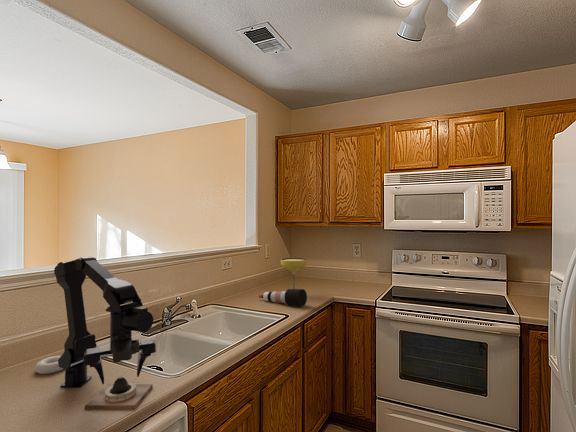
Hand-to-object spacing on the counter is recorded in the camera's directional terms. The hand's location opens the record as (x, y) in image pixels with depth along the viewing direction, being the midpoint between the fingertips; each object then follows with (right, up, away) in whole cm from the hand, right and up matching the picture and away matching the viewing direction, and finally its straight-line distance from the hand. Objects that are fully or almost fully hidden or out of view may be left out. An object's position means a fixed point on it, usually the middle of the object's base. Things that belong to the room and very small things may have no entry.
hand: (120, 380), depth 99 cm
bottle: (+45, -7, +111) cm, 120 cm away
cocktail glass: (+54, -7, +133) cm, 143 cm away
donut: (-34, -6, +19) cm, 40 cm away
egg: (0, -4, 0) cm, 4 cm away
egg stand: (0, -5, 0) cm, 5 cm away
